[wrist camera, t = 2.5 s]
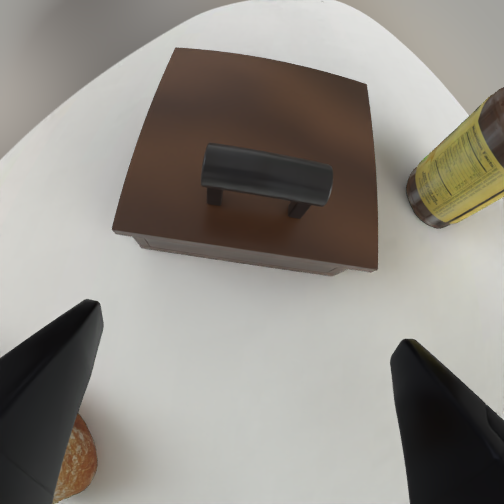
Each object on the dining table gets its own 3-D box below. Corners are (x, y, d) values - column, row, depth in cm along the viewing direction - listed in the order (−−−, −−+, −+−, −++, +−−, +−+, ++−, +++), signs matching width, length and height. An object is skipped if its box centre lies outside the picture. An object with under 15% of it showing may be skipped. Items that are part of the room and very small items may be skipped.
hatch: (370, 272, 16) (425, 250, 12) (115, 234, 15) (81, 194, 10) (362, 90, 20) (391, 44, 15) (175, 55, 18) (173, -1, 14)
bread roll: (54, 477, 18) (52, 541, 11) (-36, 404, 15) (-66, 459, 7) (117, 424, 21) (129, 494, 13) (19, 336, 17) (-15, 388, 10)
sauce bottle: (448, 178, 26) (589, 68, 7) (455, 237, 25) (628, 143, 6) (398, 159, 26) (541, 12, 7) (402, 222, 24) (595, 87, 5)
